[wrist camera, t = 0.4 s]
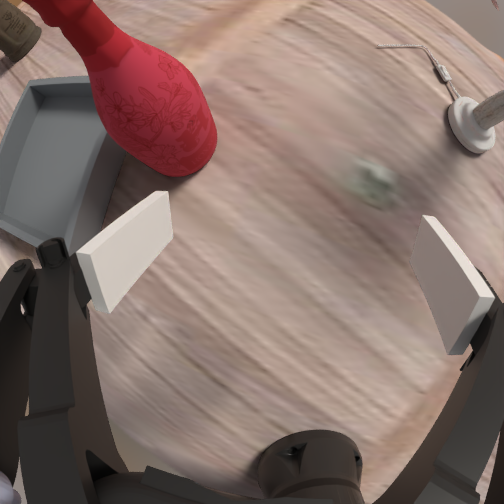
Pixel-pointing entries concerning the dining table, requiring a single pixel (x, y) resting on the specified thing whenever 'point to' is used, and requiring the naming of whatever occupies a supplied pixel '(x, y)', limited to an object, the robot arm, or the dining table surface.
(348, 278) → the dining table surface
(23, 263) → the robot arm
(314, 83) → the dining table surface
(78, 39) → the wine bottle
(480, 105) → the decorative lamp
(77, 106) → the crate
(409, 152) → the dining table surface
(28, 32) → the beer stein
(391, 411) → the dining table surface
